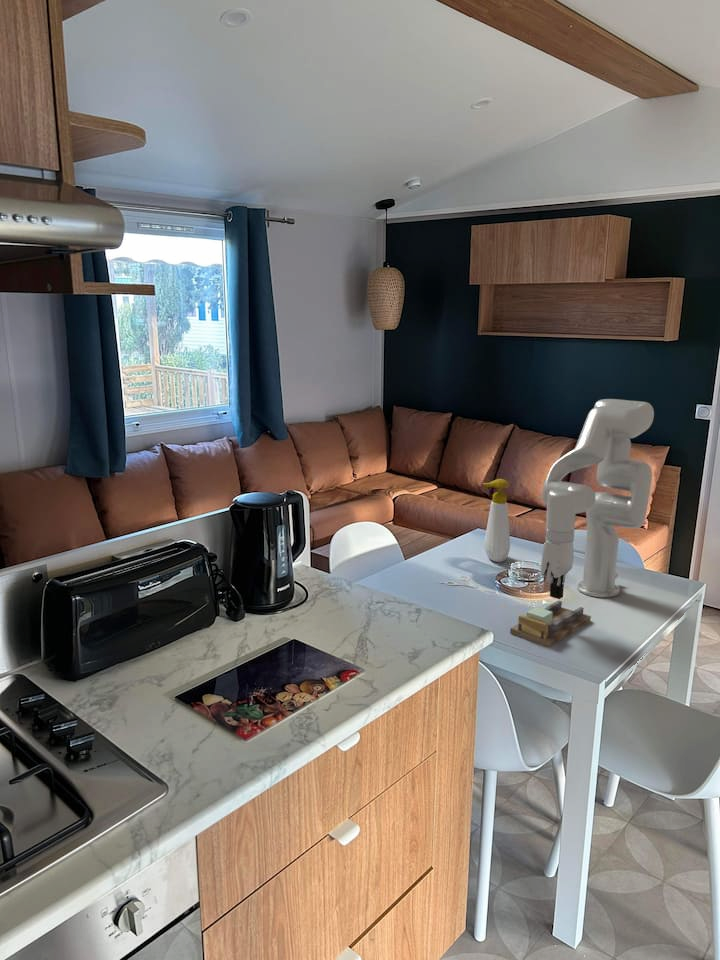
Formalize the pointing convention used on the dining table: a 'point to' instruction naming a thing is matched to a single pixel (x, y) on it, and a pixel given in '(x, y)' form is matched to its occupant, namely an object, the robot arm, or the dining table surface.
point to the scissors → (468, 585)
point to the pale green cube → (541, 615)
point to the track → (559, 629)
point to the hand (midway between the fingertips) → (556, 596)
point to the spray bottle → (498, 524)
